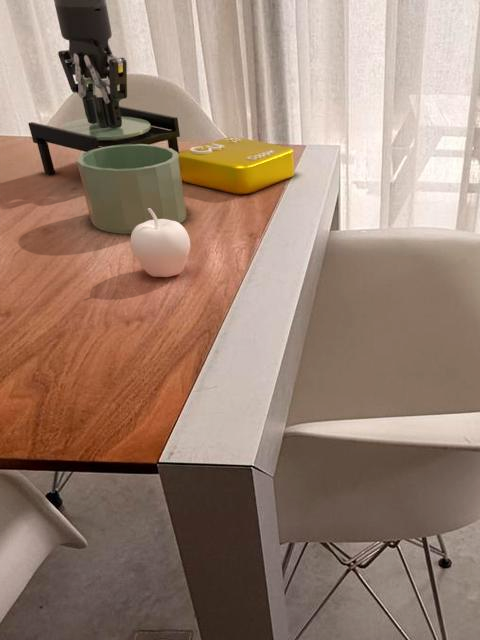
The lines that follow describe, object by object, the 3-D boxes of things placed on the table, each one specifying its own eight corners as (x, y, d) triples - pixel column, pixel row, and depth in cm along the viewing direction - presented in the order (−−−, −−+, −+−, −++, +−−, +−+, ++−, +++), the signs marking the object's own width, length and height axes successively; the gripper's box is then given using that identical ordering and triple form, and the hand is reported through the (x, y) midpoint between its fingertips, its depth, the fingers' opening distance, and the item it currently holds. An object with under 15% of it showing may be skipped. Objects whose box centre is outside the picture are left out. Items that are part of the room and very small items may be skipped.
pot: (136, 241, 94) (123, 176, 89) (72, 220, 100) (56, 158, 94) (205, 214, 103) (197, 154, 97) (143, 197, 109) (132, 139, 103)
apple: (126, 270, 86) (113, 205, 81) (177, 257, 90) (167, 194, 85) (152, 288, 82) (139, 221, 77) (204, 274, 86) (195, 209, 81)
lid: (100, 149, 108) (92, 109, 104) (41, 134, 114) (32, 97, 110) (169, 131, 117) (164, 94, 114) (112, 119, 124) (105, 83, 120)
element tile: (244, 196, 110) (242, 165, 107) (175, 180, 116) (171, 150, 113) (299, 174, 120) (298, 145, 117) (233, 161, 126) (230, 132, 122)
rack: (103, 191, 110) (92, 137, 105) (41, 174, 117) (27, 122, 112) (184, 167, 122) (177, 117, 117) (123, 152, 129) (114, 104, 124)
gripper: (29, 0, 105) (59, 123, 116) (91, 7, 99) (116, 136, 110) (70, -3, 109) (95, 115, 120) (131, 3, 104) (151, 127, 114)
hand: (105, 124), depth 115 cm, fingers open, 4 cm apart
